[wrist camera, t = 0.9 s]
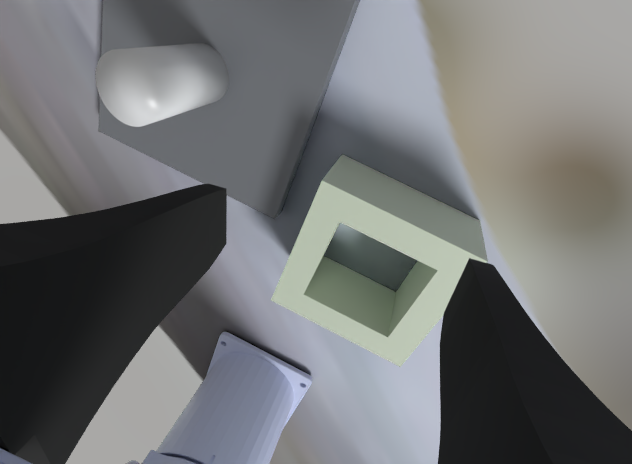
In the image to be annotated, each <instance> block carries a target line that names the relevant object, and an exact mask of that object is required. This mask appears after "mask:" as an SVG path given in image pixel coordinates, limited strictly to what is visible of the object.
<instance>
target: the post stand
mask: <svg viewBox="0 0 632 464" xmlns="http://www.w3.org/2000/svg"><path fill="white" fill-rule="evenodd" d="M359 2H360V0H103V12H102V42H101V58H100V59H99V61H98V64H97V67H96V74H95V75H96V85H97V89H98V92H99V95H100V102H99V131H100V132H102V133H104V134H106V135H108V136H110V137H112V138H114V139H116V140H118V141H120V142H122V143H124V144H126V145H128V146H130V147H132V148H134V149H136V150H138V151H140V152H142V153H144V154H146V155H148V156H150V157H152V158H154V159H156V160H158V161H160V162H162V163H164V164H166V165H168V166H170V167H172V168H174V169H176V170H178V171H180V172H182V173H184V174H186V175H188V176H190V177H192V178H194V179H196V180H198V181H200V182H202V183H204V184H212V185H216V186H219V187H223V188H226V195H228V196H230V197H232V198H234V199H236V200H238V201H240V202H242V203H244V204H245V205H247V206H249V207H251V208H253V209H255V210H257V211H259V212H261V213H263V214H265V215H267V216H269V217H271V218H273V219H275V218H276V217H277V216H278V215H279V214H280V212H281V211H282V208H283V205H284V202H285V200H286V197H287V194H288V192H289V189H290V186H291V184H292V181H293V178H294V176H295V173H296V170H297V168H298V165H299V162H300V160H301V157H302V154H303V152H304V149H305V146H306V144H307V141H308V138H309V136H310V133H311V130H312V128H313V125H314V122H315V120H316V117H317V114H318V112H319V109H320V106H321V104H322V101H323V98H324V95H325V93H326V90H327V87H328V85H329V82H330V79H331V77H332V74H333V71H334V69H335V66H336V63H337V61H338V58H339V55H340V53H341V50H342V47H343V45H344V42H345V39H346V37H347V34H348V31H349V29H350V26H351V23H352V21H353V18H354V15H355V13H356V10H357V7H358V5H359Z"/></svg>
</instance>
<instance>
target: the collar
mask: <svg viewBox="0 0 632 464" xmlns="http://www.w3.org/2000/svg"><path fill="white" fill-rule="evenodd" d="M340 222H341V223H343V224H345V225H347V226H349V227H351V228H353V229H355V230H357V231H359V232H361V233H363V234H365V235H367V236H369V237H371V238H373V239H375V240H377V241H379V242H381V243H383V244H385V245H387V246H389V247H391V248H393V249H395V250H397V251H399V252H401V253H403V254H405V255H407V256H409V257H411V258H413V259H415V260H417V262H416V264H415V265H414V266H413V268H412V269H411V271H410V272H409V274H408V275H407V277H406V278H405V280H404V281H403V282H402V284H401V285H400V287H399V288H398V290H397V291H396V292H395V291H393V290H391V289H389V288H387V287H385V286H383V285H381V284H379V283H377V282H375V281H373V280H371V279H369V278H367V277H365V276H363V275H361V274H359V273H357V272H355V271H353V270H351V269H349V268H347V267H345V266H343V265H341V264H339V263H337V262H335V261H333V260H331V259H329V258H327V257H325V256H324V254H325V252H326V250H327V248H328V246H329V244H330V242H331V240H332V238H333V236H334V233H335V231H336V229H337V227H338V225H339V223H340ZM469 258H471V259H474V260H478V261H481V262H485V263H487V262H488V260H487V255H486V250H485V245H484V239H483V234H482V229H481V224H480V221H479V220H477V219H475V218H473V217H471V216H469V215H467V214H465V213H463V212H461V211H459V210H457V209H455V208H453V207H450V206H448V205H446V204H444V203H442V202H440V201H438V200H436V199H434V198H432V197H430V196H428V195H426V194H424V193H422V192H419V191H417V190H415V189H413V188H411V187H409V186H407V185H405V184H403V183H401V182H399V181H397V180H395V179H393V178H391V177H388V176H386V175H384V174H382V173H380V172H378V171H376V170H374V169H372V168H370V167H368V166H366V165H364V164H362V163H360V162H357V161H355V160H353V159H351V158H349V157H347V156H345V155H343V154H342V155H341V156H340V158H339V159H338V160H337V161H336V163H335V164H334V165H333V167H332V168H331V169H330V170H329V172H328V173H327V174H326V176H325V177H324V178H323V179H322V181H321V183H320V186H319V188H318V190H317V193H316V195H315V197H314V200H313V202H312V205H311V207H310V209H309V212H308V214H307V216H306V219H305V221H304V223H303V226H302V228H301V230H300V233H299V235H298V238H297V240H296V242H295V245H294V247H293V249H292V252H291V254H290V256H289V259H288V261H287V263H286V266H285V268H284V271H283V273H282V275H281V278H280V280H279V282H278V285H277V287H276V289H275V292H274V294H273V296H272V299H271V301H273V302H275V303H277V304H279V305H281V306H283V307H285V308H287V309H289V310H291V311H293V312H295V313H296V314H298V315H300V316H302V317H304V318H306V319H308V320H310V321H312V322H314V323H316V324H318V325H320V326H322V327H324V328H326V329H328V330H330V331H331V332H333V333H335V334H337V335H339V336H341V337H343V338H345V339H347V340H349V341H351V342H353V343H355V344H357V345H359V346H361V347H363V348H364V349H366V350H368V351H370V352H372V353H374V354H376V355H378V356H380V357H382V358H384V359H386V360H388V361H390V362H392V363H394V364H396V365H398V366H399V367H401V366H402V364H403V363H404V362H405V361H406V360H407V358H408V357H409V356H410V355H411V354H412V352H413V351H414V350H415V349H416V347H417V346H418V345H419V344H420V343H421V341H422V340H423V339H424V338H425V337H426V335H427V334H428V333H429V332H430V331H431V329H432V328H433V327H434V326H435V325H436V323H437V322H438V321H439V320H440V319H441V317H442V316H443V315H444V311H445V309H446V307H447V305H448V303H449V301H450V298H451V296H452V294H453V292H454V290H455V288H456V286H457V283H458V281H459V279H460V277H461V275H462V273H463V271H464V269H465V266H466V264H467V262H468V260H469Z"/></svg>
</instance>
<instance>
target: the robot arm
mask: <svg viewBox="0 0 632 464" xmlns="http://www.w3.org/2000/svg"><path fill="white" fill-rule="evenodd" d="M225 245H226V188H223V187H219V186H216V185H212V184H202V185H198V186H193V187H189V188H186V189H182V190H178V191H175V192H171V193H167V194H164V195H160V196H157V197H153V198H149V199H146V200H142V201H138V202H134V203H130V204H126V205H122V206H118V207H114V208H110V209H105V210H101V211H96V212H91V213H85V214H79V215H73V216H67V217H61V218H55V219H45V220H37V221H27V222H19V223H9V224H0V464H65V463H66V461H67V460H68V458H69V456H70V455H71V453H72V451H73V450H74V448H75V446H76V445H77V443H78V441H79V440H80V438H81V436H82V435H83V433H84V431H85V430H86V428H87V426H88V425H89V423H90V422H91V420H92V418H93V417H94V415H95V414H96V412H97V411H98V409H99V408H100V406H101V405H102V403H103V402H104V400H105V398H106V397H107V395H108V394H109V392H110V391H111V389H112V387H113V386H114V384H115V383H116V382H117V380H118V379H119V377H120V376H121V375H122V373H123V372H124V370H125V369H126V367H127V366H128V365H129V363H130V362H131V360H132V359H133V357H134V356H135V355H136V353H137V352H138V351H139V349H140V348H141V347H142V345H143V344H144V343H145V341H146V340H147V339H148V337H149V336H150V334H151V333H152V332H153V330H154V329H155V328H156V327H157V326H158V325H159V323H160V322H161V321H162V320H163V319H164V318H165V316H166V315H167V314H168V313H169V312H170V311H171V310H172V309H173V308H174V307H175V306H176V305H177V303H178V302H179V301H180V300H181V299H182V298H183V297H184V296H185V295H186V294H187V293H188V292H189V290H190V289H191V288H192V287H193V286H194V285H195V284H196V283H197V282H198V281H199V279H200V278H201V277H202V276H203V275H204V274H205V273H206V272H207V271H208V269H209V268H210V267H211V265H212V264H213V263H214V261H215V260H216V258H217V257H218V255H219V254H220V252H221V251H222V249H223V248H224V246H225ZM312 380H313V379H312V377H311V376H310V375H309V374H307V373H305V372H303V371H301V370H299V369H297V368H295V367H293V366H291V365H289V364H288V363H286V362H284V361H282V360H280V359H278V358H276V357H274V356H272V355H270V354H268V353H267V352H265V351H263V350H261V349H259V348H257V347H255V346H253V345H251V344H249V343H247V342H246V341H244V340H242V339H240V338H238V337H236V336H234V335H232V334H230V333H228V332H222V334H221V335H220V336H219V339H218V342H217V345H216V348H215V351H214V354H213V357H212V360H211V363H210V366H209V369H208V372H207V375H206V378H205V379H204V381H203V382H202V384H201V385H200V387H199V388H198V390H197V391H196V393H195V394H194V396H193V397H192V399H191V400H190V402H189V403H188V405H187V406H186V408H185V409H184V411H183V412H182V414H181V415H180V416H179V418H178V419H177V421H176V422H175V424H174V425H173V427H172V428H171V430H170V432H169V433H168V435H167V436H166V437H165V439H164V440H163V442H162V444H161V445H160V447H159V448H158V449H157V451H154V450H151V451H150V452H149V454H148V455H147V457H146V458H145V460H144V461H143V463H142V464H269V463H270V460H271V458H272V455H273V453H274V450H275V448H276V445H277V442H278V440H279V437H280V435H281V432H282V430H283V428H284V427H285V425H286V423H287V422H288V420H289V419H290V417H291V415H292V414H293V412H294V411H295V409H296V407H297V406H298V404H299V403H300V401H301V399H302V398H303V396H304V395H305V393H306V392H307V390H308V388H309V387H310V385H311V383H312ZM440 399H441V431H440V447H439V458H438V464H632V431H631V430H630V429H629V428H628V427H627V426H626V425H625V424H624V423H622V422H621V420H619V419H618V418H617V417H616V416H615V415H614V414H613V413H612V412H611V411H610V410H609V409H608V408H607V407H606V406H605V405H604V404H603V403H602V402H601V401H600V400H599V399H598V398H597V397H596V396H595V395H594V394H593V392H592V391H591V390H590V389H589V388H588V387H587V386H586V385H585V384H584V383H583V382H582V381H581V380H580V378H579V377H578V376H577V375H576V374H575V373H574V372H573V371H572V370H571V369H570V367H569V366H568V365H567V364H566V363H565V362H564V361H563V359H562V358H561V357H560V356H559V355H558V353H557V352H556V351H555V350H554V348H553V347H552V346H551V345H550V343H549V342H548V341H547V340H546V339H545V337H544V336H543V335H542V333H541V332H540V331H539V329H538V328H537V327H536V326H535V324H534V323H533V321H532V320H531V319H530V317H529V316H528V315H527V313H526V312H525V310H524V309H523V308H522V306H521V305H520V303H519V302H518V300H517V299H516V297H515V296H514V295H513V293H512V292H511V290H510V289H509V287H508V286H507V284H506V283H505V281H504V280H503V278H502V277H501V275H500V274H499V272H498V271H497V270H496V268H495V267H494V266H493V265H492V264H488V263H485V262H481V261H478V260H474V259H471V258H469V260H468V262H467V264H466V266H465V269H464V271H463V273H462V275H461V277H460V279H459V281H458V283H457V286H456V288H455V290H454V292H453V294H452V296H451V298H450V301H449V303H448V305H447V307H446V309H445V311H444V316H443V323H442V331H441V340H440ZM127 464H139V463H138V462H136V461H134V460H132V461H129V462H128V463H127Z"/></svg>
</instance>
